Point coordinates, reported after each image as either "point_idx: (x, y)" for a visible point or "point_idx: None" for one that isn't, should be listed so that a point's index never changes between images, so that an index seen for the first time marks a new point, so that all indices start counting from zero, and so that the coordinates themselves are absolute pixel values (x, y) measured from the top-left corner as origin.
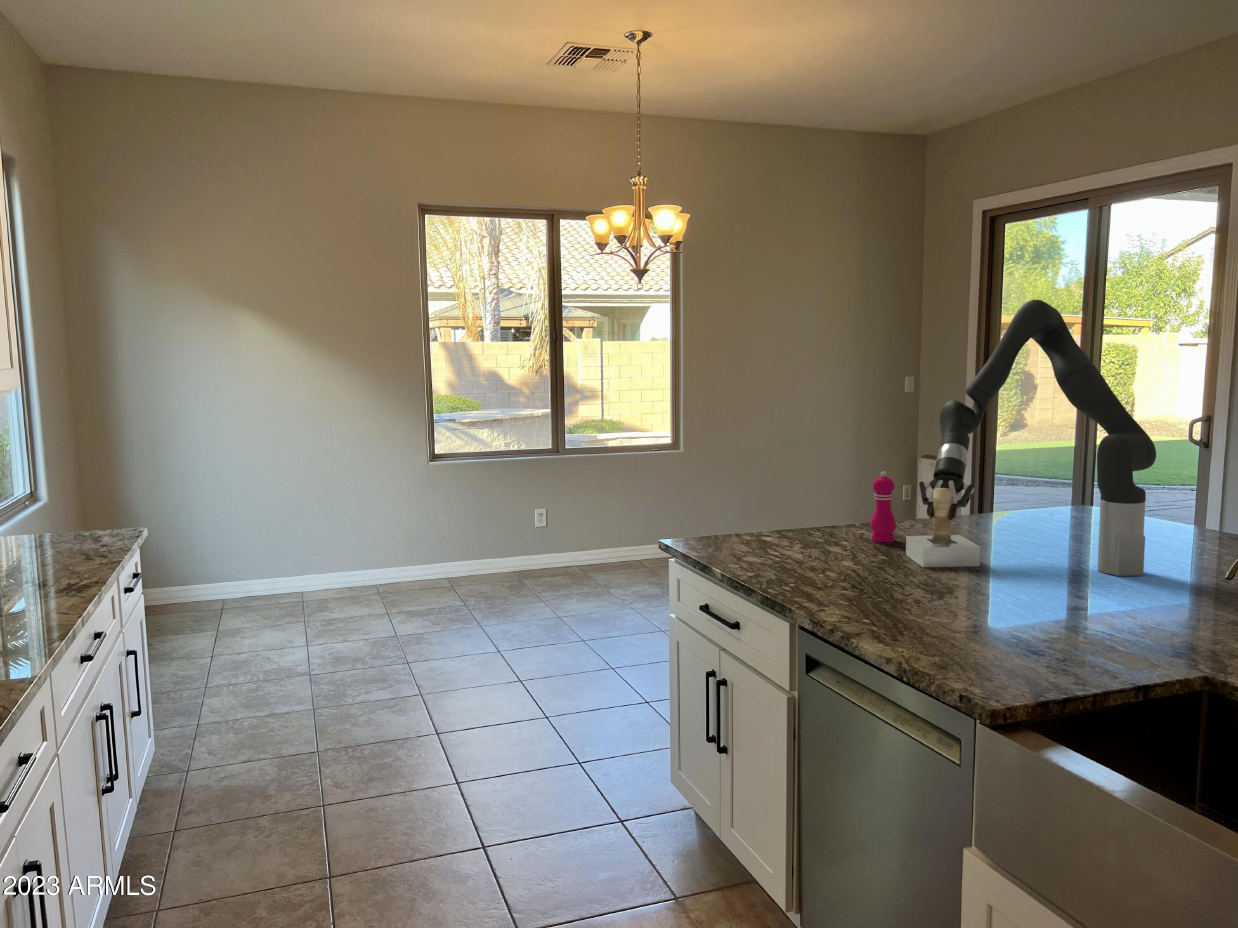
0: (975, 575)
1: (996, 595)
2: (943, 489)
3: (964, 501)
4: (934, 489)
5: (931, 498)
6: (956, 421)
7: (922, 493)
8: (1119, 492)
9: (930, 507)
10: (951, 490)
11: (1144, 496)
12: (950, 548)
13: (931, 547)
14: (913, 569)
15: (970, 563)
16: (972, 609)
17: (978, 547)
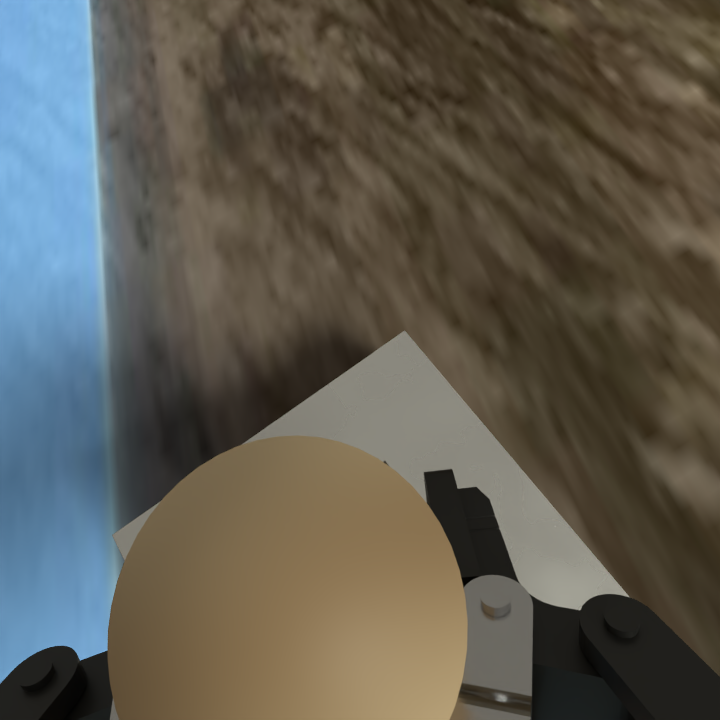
0: (165, 352)
1: (75, 143)
2: (267, 612)
3: (24, 662)
4: (425, 527)
5: (497, 630)
6: None
7: (710, 704)
8: None
9: (458, 522)
10: (115, 607)
11: None
12: (274, 426)
13: (366, 358)
14: (430, 315)
15: None
16: (130, 2)
17: (125, 530)
